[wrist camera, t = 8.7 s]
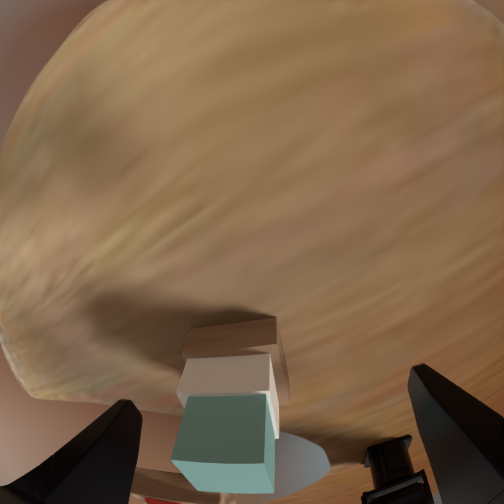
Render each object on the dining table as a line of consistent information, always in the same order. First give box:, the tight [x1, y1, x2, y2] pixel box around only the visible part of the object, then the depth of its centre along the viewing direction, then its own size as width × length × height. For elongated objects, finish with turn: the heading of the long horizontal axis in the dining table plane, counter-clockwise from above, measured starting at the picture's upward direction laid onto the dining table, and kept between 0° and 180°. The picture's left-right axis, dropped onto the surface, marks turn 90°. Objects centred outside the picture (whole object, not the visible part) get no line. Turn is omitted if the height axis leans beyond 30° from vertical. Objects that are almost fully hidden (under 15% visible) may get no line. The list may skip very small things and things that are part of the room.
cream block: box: [176, 353, 279, 439], centre depth 19 cm, size 6×6×4 cm
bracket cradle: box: [130, 468, 238, 504], centre depth 33 cm, size 9×16×6 cm, turn 102°
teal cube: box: [171, 394, 275, 493], centre depth 15 cm, size 5×5×5 cm
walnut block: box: [181, 317, 290, 406], centre depth 22 cm, size 7×7×4 cm
